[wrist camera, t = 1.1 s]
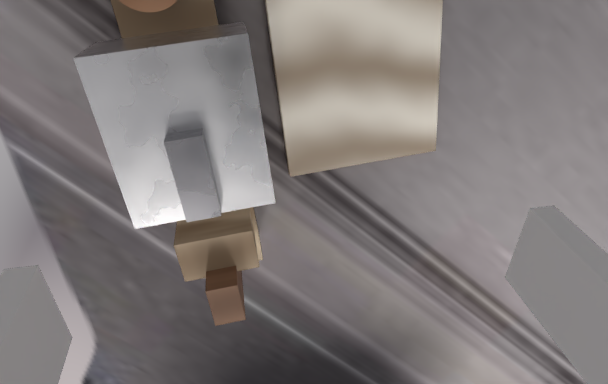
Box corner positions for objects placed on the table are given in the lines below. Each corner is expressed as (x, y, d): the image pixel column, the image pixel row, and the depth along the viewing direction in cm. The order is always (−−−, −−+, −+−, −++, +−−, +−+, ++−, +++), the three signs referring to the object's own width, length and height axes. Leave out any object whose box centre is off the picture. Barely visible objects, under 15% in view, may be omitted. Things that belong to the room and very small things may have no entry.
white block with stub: (267, 171, 31) (277, 212, 26) (145, 193, 30) (131, 240, 25) (243, 21, 26) (249, 37, 21) (95, 42, 25) (65, 63, 20)
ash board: (430, 145, 36) (435, 150, 35) (288, 171, 35) (290, 176, 34) (438, -46, 29) (444, -46, 28) (261, -23, 28) (262, -22, 27)
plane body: (259, 234, 37) (271, 314, 29) (194, 247, 37) (188, 331, 28) (198, -81, 26) (191, -97, 18) (103, -70, 25) (50, -82, 17)
